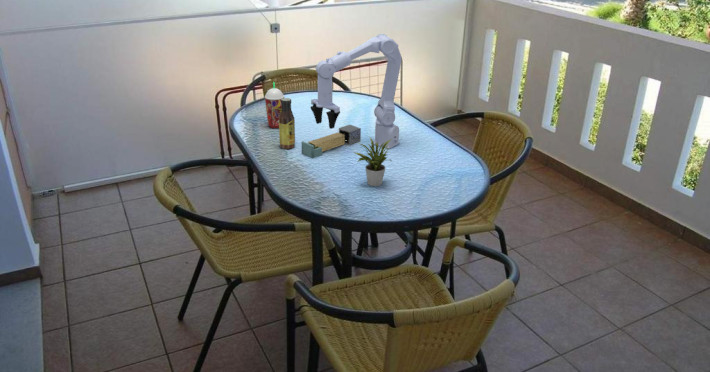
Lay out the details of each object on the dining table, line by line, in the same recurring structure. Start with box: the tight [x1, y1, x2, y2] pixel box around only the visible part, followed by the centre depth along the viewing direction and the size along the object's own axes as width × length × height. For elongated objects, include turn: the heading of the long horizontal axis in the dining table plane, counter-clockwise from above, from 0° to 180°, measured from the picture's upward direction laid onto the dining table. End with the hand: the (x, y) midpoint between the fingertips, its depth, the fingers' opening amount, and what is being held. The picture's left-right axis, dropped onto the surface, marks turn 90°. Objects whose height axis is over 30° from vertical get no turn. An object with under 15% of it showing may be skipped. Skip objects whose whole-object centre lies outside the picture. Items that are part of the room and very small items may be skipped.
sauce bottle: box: [278, 97, 296, 150], centre depth 238 cm, size 6×6×20 cm
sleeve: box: [338, 124, 362, 146], centre depth 247 cm, size 6×6×6 cm
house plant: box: [353, 137, 393, 187], centre depth 210 cm, size 14×14×16 cm
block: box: [307, 131, 345, 153], centre depth 239 cm, size 16×4×4 cm, turn 135°
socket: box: [301, 141, 323, 159], centre depth 234 cm, size 5×7×5 cm
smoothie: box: [264, 81, 285, 129], centre depth 259 cm, size 8×8×20 cm
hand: (325, 125), depth 237 cm, fingers open, 7 cm apart
